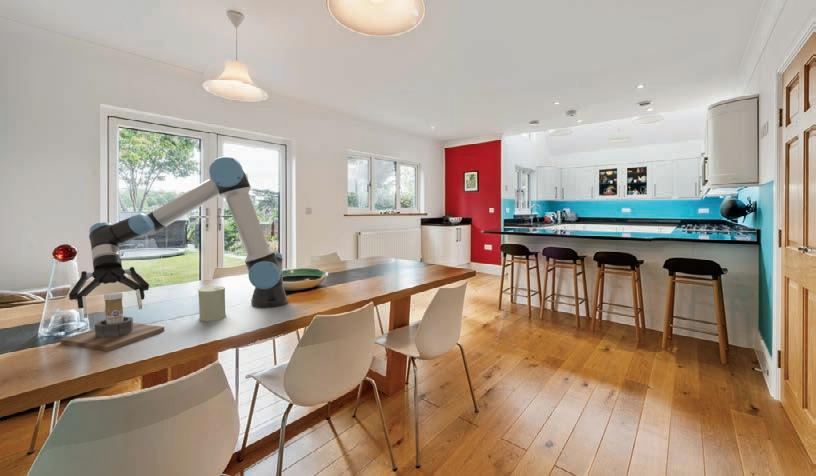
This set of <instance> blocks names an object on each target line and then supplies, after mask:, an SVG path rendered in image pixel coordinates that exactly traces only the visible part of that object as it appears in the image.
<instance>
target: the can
mask: <svg viewBox="0 0 816 476" xmlns="http://www.w3.org/2000/svg"><path fill="white" fill-rule="evenodd" d="M198 307H199V318H198V320H199V321H201V322H214V321H219V320H223V319H224V318H226V317H227V314H226V313H227V312H226V287H225V286H220V285H219V286H218V285H217V286H215V285H214V286H204V287H201V288H199V289H198Z"/></svg>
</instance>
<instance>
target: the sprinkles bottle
mask: <svg viewBox="0 0 816 476" xmlns="http://www.w3.org/2000/svg"><path fill="white" fill-rule="evenodd" d="M103 299H104V302H105V303H104V306H105V310H104V312H105V313H104V314H105V315H104V316H105V319H106V325H109V324H117V323H121V322H123V317H124V309H123V308H124V307H123V292H122V291H112V292H111V291H110V292H105V293H104V295H103Z"/></svg>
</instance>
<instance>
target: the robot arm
mask: <svg viewBox="0 0 816 476" xmlns="http://www.w3.org/2000/svg"><path fill="white" fill-rule="evenodd" d="M208 172H209V178H208V179H207V180H205V181H203V182H202V183H200V184H198V185H197V186H195V187H193V188H191V189H189V190H188V191H186V192H184V193H183V194H181V195H179V196H177V197H176V198H174V199H171V201H168V202H167V203H165V204H163V205H162V206H160V207H158V208H156V209H154V210H153V211H151V212H148V213H147V214H145V213H137V214H136V215H132V216H130V217H128V218H125V219H122V220H121V221H119V222H115V223H110V222H106V221H103V222H97V223H94V224H91V226H90V228H89V235H88V237H89V241H90V249H91V251H90V252H91V259H92V267H93V270H92V272H87V271H85V270H83V271H81V274H80V278H79V279H78V281H77V282H76V283H75V285H74V286H73V288H72V289H71V291H70V292H69V294H68V299H69V300H70V301H74V300H75V301H77V302H76V303H77V309H82V310H83V318H84V319H87V318H88V308H87V307H88V306H87V298H86V297H87V296H88V295H89V294H90V293H91V292H93V291H94V289H96V288H97V287H99V286H100V285H101V284H104V285H106V284H115V283H117V282H118V283H120V284H122V285H125V286H126V287H128V288H130V289H132V290H134V291H135V294H136V300H137V301H136V302H137V307H138V310H142V309H143V302H142V300H145V297H146V296H145V291H149V289H150V284H149V283H148V282H147V281H146V280H145V279H144V278H143V277H142V276H140V274H138V273H137V272H136V270H135V267H134V266H130V268H128V269H124V268H123V264H122V263H123V262H122V259H121V258H122V257H121V253H120V251H121V250H120V245H121V244H125V243H127V242H130V241H133V240H135V239H137V238H141V237H146V236H154V235H156V234H158V233H160V232H161V231H162V230H163V229H164V228H166V227H168V226H169V225H171V224H173V223H174V222H176V221H178V220H180V219H181V218H183V217H184V216H186V215H188V214H191V213H192V212H193V211H195V210H197V209H199V208H200V207H202V206H203V205H205V204H207V203H208V202H211V201H213V200H214V199H216V198H218V197H219V196H220V197H222V198H224V199H225V200H226V203H227V207H228V208H229V211H230V214H231V216H232V220H233V222H234V225H235V226H236V229H237V230H236V231H237V232H238V235H239V238H240V240H241V244H242V246H243V250H244V251H245V253H246V257H245V259H244V262H245V266H246V268H247V271H248V280H249V282H250V284H251V285H252V286H253V287H254V290H253V293H252V297H251V300H250V301H251V303H250V304H251V306H252V307H255V308H274V307H279V306H283V305H285V304H287V302H288V296H287V294H286V291H285V289H284V288H285V287H284V284H283V283H284V281H283V278H284V277H283V276H284V275H283V261H284V259H283V254H282V253H280V252H275V251H274V250H273V249H270V248H269V246H268V243H267V240H266V237H265V234H264V232H263V229H262V226H261V224H260V221H259V218H258V215H257V213H256V210H255V207H254V205H253V201H252V198H251V197H250V193H249V192H250V191H251V188H252V187H251V184H250V181H249V172H248V169H247V168H246V166H245V165H244V164H243V163H242V162H240V161H239V160H238V159H237V158H235V157H232V156H220V157H218V158H215V159H214V160H213V161H212V163H211V164H210V165H209V168H208ZM125 274H127V275H128V276H130V277H131V278H132V279H133V280H132V279H131V278H128V277H127V276H126V275H125ZM90 278H93V280H92V281H90V283H89V284H87V285H86V286H85V287H84V285H85V284H86V282H87V281H88V280H89V279H90ZM83 287H84V288H83ZM82 288H83V289H82Z"/></svg>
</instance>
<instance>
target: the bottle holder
mask: <svg viewBox="0 0 816 476" xmlns="http://www.w3.org/2000/svg"><path fill="white" fill-rule="evenodd" d="M133 320H134V318H133V317H132V316H124V315H123V322H121V323H117V324H109V325H106V318H105V319H102V320H98V321H97V322H96V323H95V324H94V328H93V329H91V330H87V331H84V332H80V333H77V334H74V335H69V336H67V337H63V338H61V339H59V344H60V345H66V346H69V347H70V346H72V347H75V348H76V347H77V348H84V349H90V350H95V351H103V352H111V351H114V350H115V349H116V350H117V349H119V348H121V347H124V346H127V345H130V344H133V343H135V342H137V341H141V340H143V339H147V338H149V337H152V336H154V335H157V334H160V333H164V332H165V326H161V325H151V324H145V323H144V324H143V323H137V322H133Z"/></svg>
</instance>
